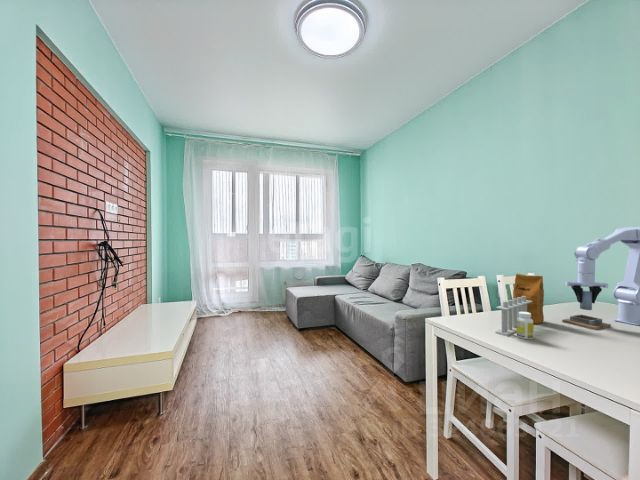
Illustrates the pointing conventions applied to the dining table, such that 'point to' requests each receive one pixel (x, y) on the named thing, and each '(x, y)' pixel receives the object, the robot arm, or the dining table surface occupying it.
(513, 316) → the test tube rack
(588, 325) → the holder
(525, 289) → the coffee package
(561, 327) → the dining table surface
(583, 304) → the tube
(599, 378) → the dining table surface
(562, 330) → the dining table surface
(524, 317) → the supplement bottle
